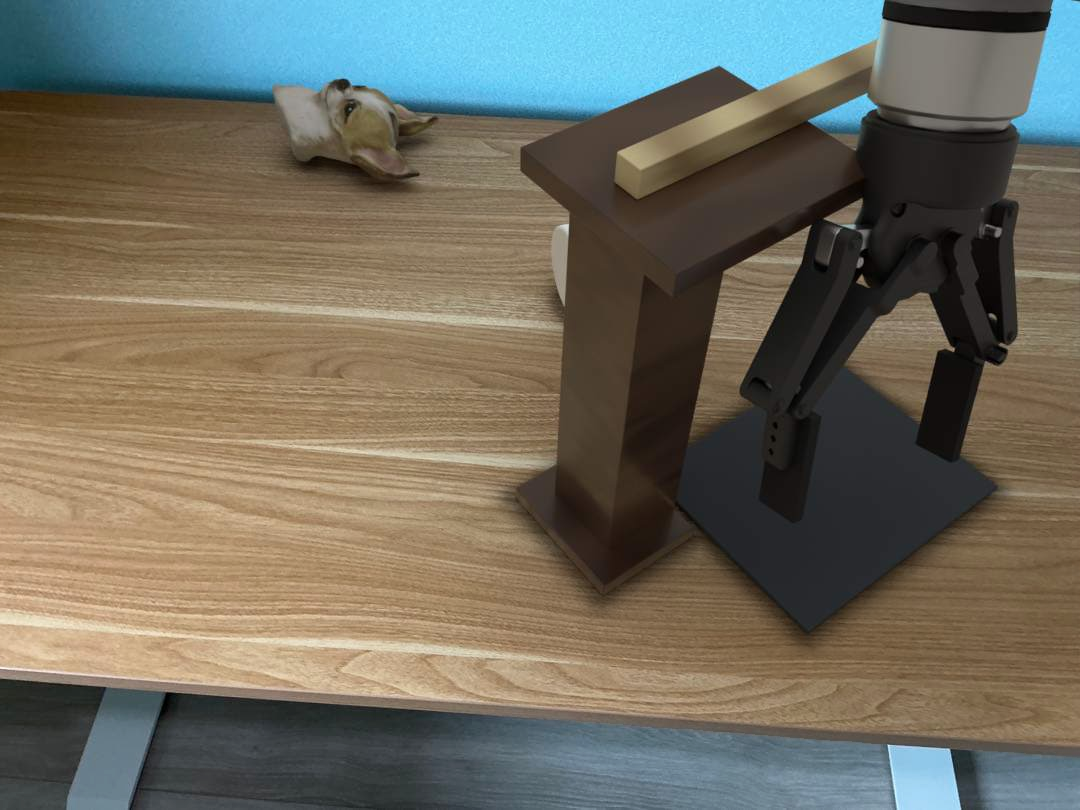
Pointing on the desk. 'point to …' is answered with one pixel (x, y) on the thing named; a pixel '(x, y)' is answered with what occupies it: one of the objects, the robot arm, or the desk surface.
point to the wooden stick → (743, 123)
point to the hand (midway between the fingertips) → (862, 480)
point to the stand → (654, 308)
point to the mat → (828, 500)
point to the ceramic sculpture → (349, 126)
